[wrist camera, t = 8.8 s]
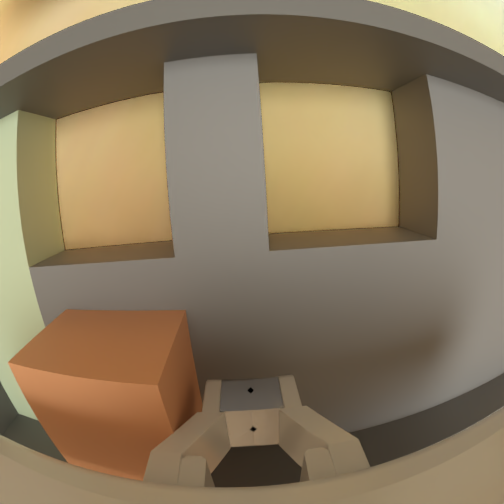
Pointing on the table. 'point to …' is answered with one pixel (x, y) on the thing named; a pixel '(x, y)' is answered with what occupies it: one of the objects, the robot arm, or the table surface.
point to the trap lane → (256, 222)
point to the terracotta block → (110, 385)
